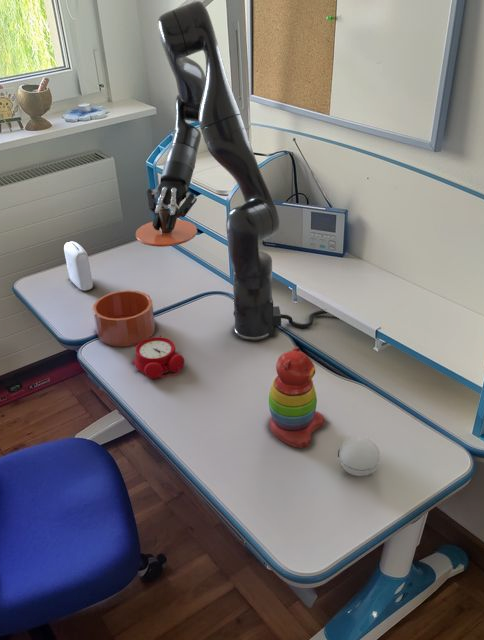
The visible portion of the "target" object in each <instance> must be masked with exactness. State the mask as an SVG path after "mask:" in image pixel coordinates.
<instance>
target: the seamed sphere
mask: <svg viewBox="0 0 484 640" xmlns="http://www.w3.org/2000/svg"><path fill="white" fill-rule="evenodd" d="M337 457H338V460H339V463H340V465H341V466H342V468H343V469H344V472H345V471H346V472H347V473H348V474H349V475H352V476H355V477H366V476H368V475H371V474H372V473H374V471H375V470H376V469H377V468H378V467H379V464H380V460H381V455H380V450H379V447H378V445H377V444H376V442H375V441H373V440H372V439H371V438H369V437H367V436H364V435H354V436H351V437H348V438H347V439H345V440H344V442H343V443H342V444H341V446H340V448H339V449H338V452H337Z"/></svg>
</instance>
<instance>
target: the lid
mask: <svg viewBox="0 0 484 640" xmlns="http://www.w3.org/2000/svg"><path fill="white" fill-rule="evenodd" d="M169 215H171V209H169V208H167V209H161V210H159V219H160V229H159V231H158V230H155V229H154V227H153V224H152V223H153V221H149V222H147V223H144V224H143V225H141V226H140V227H139V228H137V229H136V231H135V238H136V240H137V241H138V242H139V243H141V244H143V245H146V246H150V247H157V248H158V247H160V248H161V247H162V248H163V247H164V248H165V247H174V246H178V245H183V244H185V243H188V242H190V241H191V240H193V239H194V238H195V237H196V236H197V234H198V228H197V226H196V225H195V223H193V222H191V221H189V220H184V219H178V218H177V220H176V223H175V227H174V229H173V230H172V231H171V232H168V231H167V230H166V225H167V221H168V218H169Z"/></svg>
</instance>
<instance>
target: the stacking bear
mask: <svg viewBox="0 0 484 640" xmlns="http://www.w3.org/2000/svg"><path fill="white" fill-rule="evenodd" d="M275 364H276V365H275V370H276V375H277V376H276V377H275V378H274V379H273V381H272V383H271V386H270V390H269V394H268V407H269V408H268V409H269V412H270V416H271V417H270V419H269V420H270V421H269V428H270V431H271V432H272V434H273V435H274V436H275V437H276V438H277V439H278V440H280V441H281V442H282V443H284V444H287V445H289V446H291V447H294V448H297V449H303V448H307V447H308V446H310V444H311V443H312V438H311V436H312V434H313V432H314V431H316V430H319V429H320V428H322V427H324V424H325V422H326V420H325V417H324V415H323V414H322V413H321V412H319V411H317V403H318V397H317V393H316V388H315V384H314V380H313V378H314V376H315V374H316V367H315V364H314V362H313V361H312V359H311V358H310V357H309V356H308V355H307V354H306V353H304V352H302V351H301V350H300V347H299V346H296V347H293V348H292V350H288V351H286V352H284V353H282V354H281V355H280V356H279V357H278V359H277V361H276V363H275Z"/></svg>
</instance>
